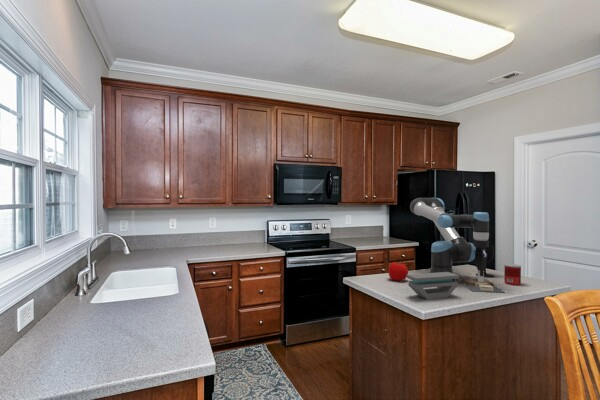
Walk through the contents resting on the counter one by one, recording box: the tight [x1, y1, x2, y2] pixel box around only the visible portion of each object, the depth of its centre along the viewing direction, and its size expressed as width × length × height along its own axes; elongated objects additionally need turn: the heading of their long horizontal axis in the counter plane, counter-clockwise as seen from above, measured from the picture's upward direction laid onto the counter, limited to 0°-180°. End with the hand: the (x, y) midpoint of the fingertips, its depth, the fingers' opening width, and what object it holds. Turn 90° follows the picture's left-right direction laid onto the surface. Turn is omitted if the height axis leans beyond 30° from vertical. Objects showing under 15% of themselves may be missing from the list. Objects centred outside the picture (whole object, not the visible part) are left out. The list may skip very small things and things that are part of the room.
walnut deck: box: [460, 277, 495, 286], centre depth 187 cm, size 14×10×2 cm
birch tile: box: [475, 282, 494, 291], centre depth 177 cm, size 9×6×2 cm, turn 171°
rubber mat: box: [464, 284, 506, 294], centre depth 176 cm, size 16×11×1 cm
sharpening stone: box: [406, 272, 460, 301], centre depth 163 cm, size 25×8×11 cm, turn 105°
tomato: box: [388, 261, 409, 282], centre depth 195 cm, size 12×12×11 cm
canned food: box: [504, 263, 522, 286], centre depth 188 cm, size 8×8×11 cm
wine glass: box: [475, 244, 496, 279], centre depth 207 cm, size 10×10×20 cm
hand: (480, 281), depth 182 cm, fingers closed
